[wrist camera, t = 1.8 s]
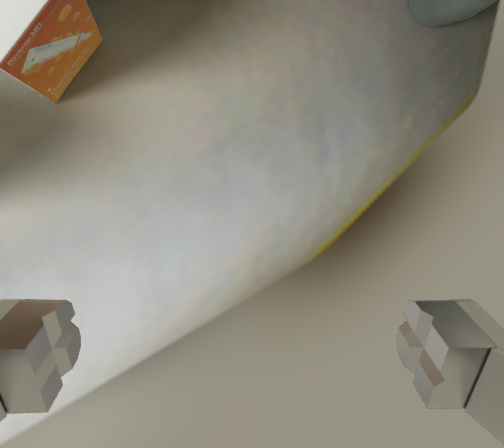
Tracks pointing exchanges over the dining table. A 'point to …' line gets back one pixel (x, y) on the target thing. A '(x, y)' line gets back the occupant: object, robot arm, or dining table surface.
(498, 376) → the robot arm
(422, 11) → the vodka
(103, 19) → the dining table surface
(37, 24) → the small box
